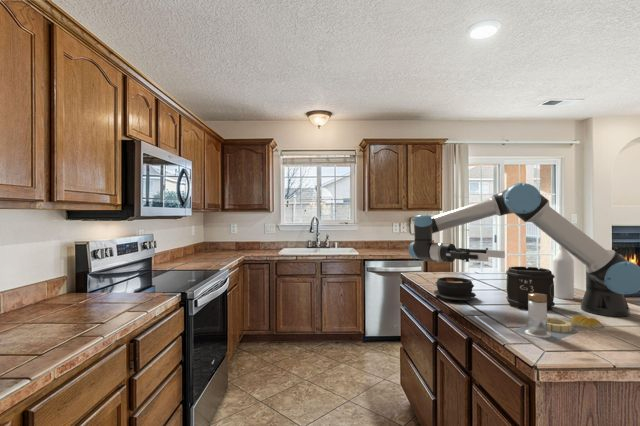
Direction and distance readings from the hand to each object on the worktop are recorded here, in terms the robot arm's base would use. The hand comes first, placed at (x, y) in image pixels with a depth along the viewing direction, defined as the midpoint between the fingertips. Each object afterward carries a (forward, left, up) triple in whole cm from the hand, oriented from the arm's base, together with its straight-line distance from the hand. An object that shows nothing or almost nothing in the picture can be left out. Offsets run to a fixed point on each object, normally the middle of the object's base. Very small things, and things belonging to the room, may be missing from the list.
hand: (496, 256), depth 128 cm
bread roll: (-27, +8, -24) cm, 37 cm away
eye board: (-9, +15, -24) cm, 30 cm away
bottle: (-47, -38, -24) cm, 65 cm away
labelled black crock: (-23, -22, -24) cm, 40 cm away
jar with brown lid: (-4, +19, -22) cm, 29 cm away
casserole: (+4, -35, -24) cm, 43 cm away
